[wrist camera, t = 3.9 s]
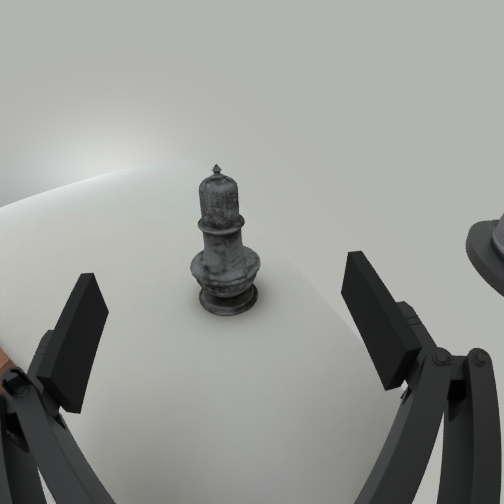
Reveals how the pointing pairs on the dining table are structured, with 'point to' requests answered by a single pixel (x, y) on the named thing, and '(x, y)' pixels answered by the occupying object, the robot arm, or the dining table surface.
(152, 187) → the dining table surface
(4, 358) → the brown square base plate
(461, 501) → the robot arm
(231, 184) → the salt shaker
